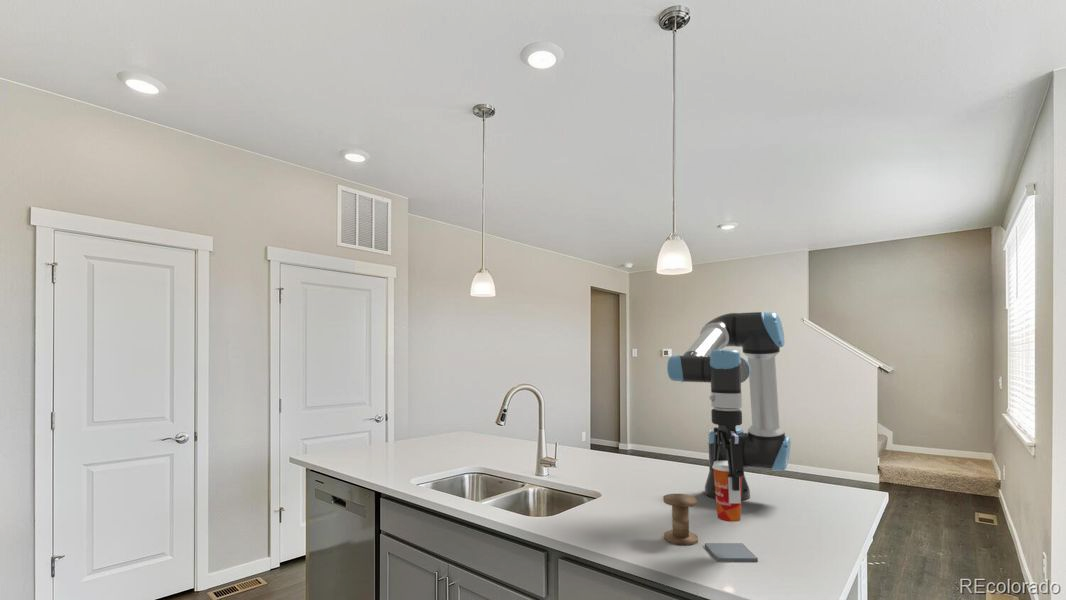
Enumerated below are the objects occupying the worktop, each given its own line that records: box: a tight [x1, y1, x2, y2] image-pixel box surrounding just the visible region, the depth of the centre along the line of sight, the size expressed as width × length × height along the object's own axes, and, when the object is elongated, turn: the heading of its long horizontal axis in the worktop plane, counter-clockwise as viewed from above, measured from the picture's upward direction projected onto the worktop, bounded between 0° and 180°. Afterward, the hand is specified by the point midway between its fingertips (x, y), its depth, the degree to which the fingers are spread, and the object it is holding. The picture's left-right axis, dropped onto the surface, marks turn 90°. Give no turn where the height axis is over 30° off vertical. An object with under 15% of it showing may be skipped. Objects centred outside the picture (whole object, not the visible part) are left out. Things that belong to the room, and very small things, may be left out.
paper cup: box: [712, 460, 742, 523], centre depth 139 cm, size 8×8×14 cm
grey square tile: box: [704, 542, 759, 563], centre depth 138 cm, size 10×10×1 cm
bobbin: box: [662, 493, 699, 546], centre depth 149 cm, size 9×9×11 cm
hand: (728, 498), depth 139 cm, fingers closed on paper cup, 8 cm apart
